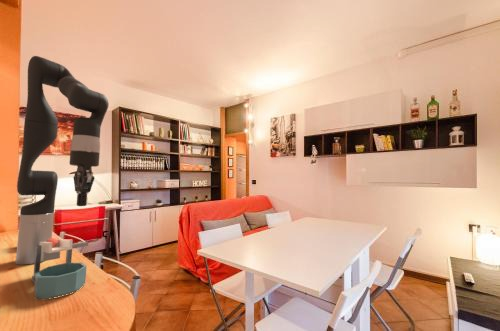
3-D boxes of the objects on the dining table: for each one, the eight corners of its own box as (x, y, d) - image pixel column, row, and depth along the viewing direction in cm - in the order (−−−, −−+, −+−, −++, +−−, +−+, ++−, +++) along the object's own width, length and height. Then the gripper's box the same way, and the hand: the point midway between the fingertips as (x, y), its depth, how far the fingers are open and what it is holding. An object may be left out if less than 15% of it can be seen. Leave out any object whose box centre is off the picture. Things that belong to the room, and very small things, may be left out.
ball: (44, 248, 72) (44, 238, 72) (56, 246, 74) (56, 236, 75) (45, 249, 70) (46, 239, 70) (58, 247, 72) (58, 237, 73)
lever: (38, 261, 71) (39, 242, 72) (74, 254, 78) (74, 237, 79) (48, 264, 62) (49, 242, 63) (88, 256, 69) (88, 236, 70)
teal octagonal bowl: (32, 290, 61) (33, 269, 61) (78, 278, 69) (79, 260, 69) (38, 304, 54) (40, 280, 55) (88, 289, 62) (89, 268, 63)
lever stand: (31, 280, 67) (34, 244, 67) (67, 271, 73) (70, 239, 74) (34, 285, 64) (37, 248, 64) (71, 276, 70) (74, 242, 71)
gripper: (65, 151, 72) (61, 205, 71) (76, 147, 64) (72, 208, 63) (92, 153, 78) (89, 203, 77) (106, 151, 70) (102, 206, 68)
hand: (81, 205), depth 70 cm, fingers closed
